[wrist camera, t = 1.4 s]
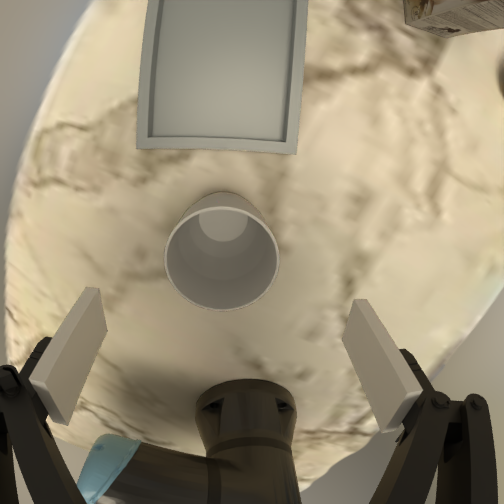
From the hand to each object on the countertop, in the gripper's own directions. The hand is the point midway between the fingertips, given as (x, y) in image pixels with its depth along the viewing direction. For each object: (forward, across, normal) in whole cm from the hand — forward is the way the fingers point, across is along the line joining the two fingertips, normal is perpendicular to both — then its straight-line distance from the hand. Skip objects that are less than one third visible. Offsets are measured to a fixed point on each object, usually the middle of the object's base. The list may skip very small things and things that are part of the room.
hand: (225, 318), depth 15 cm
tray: (+17, +2, -16) cm, 23 cm away
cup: (+17, 0, 0) cm, 17 cm away
